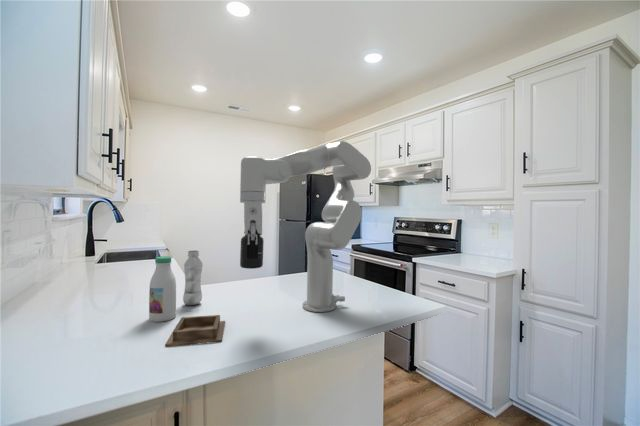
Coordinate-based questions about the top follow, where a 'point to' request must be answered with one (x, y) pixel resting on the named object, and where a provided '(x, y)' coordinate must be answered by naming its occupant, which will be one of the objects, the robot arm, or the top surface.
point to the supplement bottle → (243, 253)
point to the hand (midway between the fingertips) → (251, 256)
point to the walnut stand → (197, 330)
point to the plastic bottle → (192, 279)
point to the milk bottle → (162, 291)
